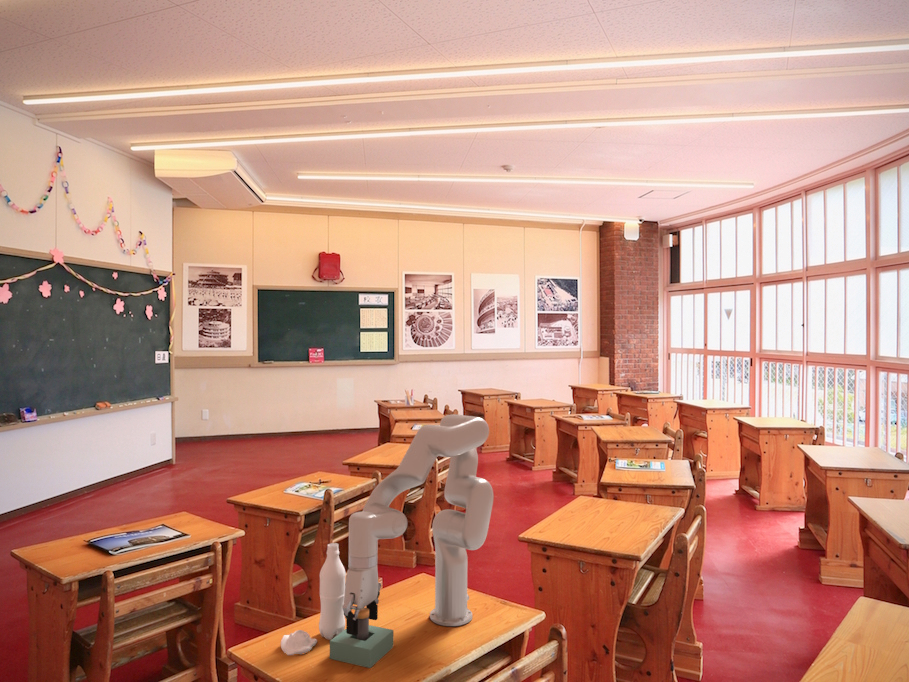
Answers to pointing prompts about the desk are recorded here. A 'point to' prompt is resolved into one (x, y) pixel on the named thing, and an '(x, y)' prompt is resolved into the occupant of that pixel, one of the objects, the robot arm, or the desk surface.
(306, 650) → the rose
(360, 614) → the round peg
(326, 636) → the water bottle
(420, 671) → the desk surface
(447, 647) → the desk surface
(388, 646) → the socket block
